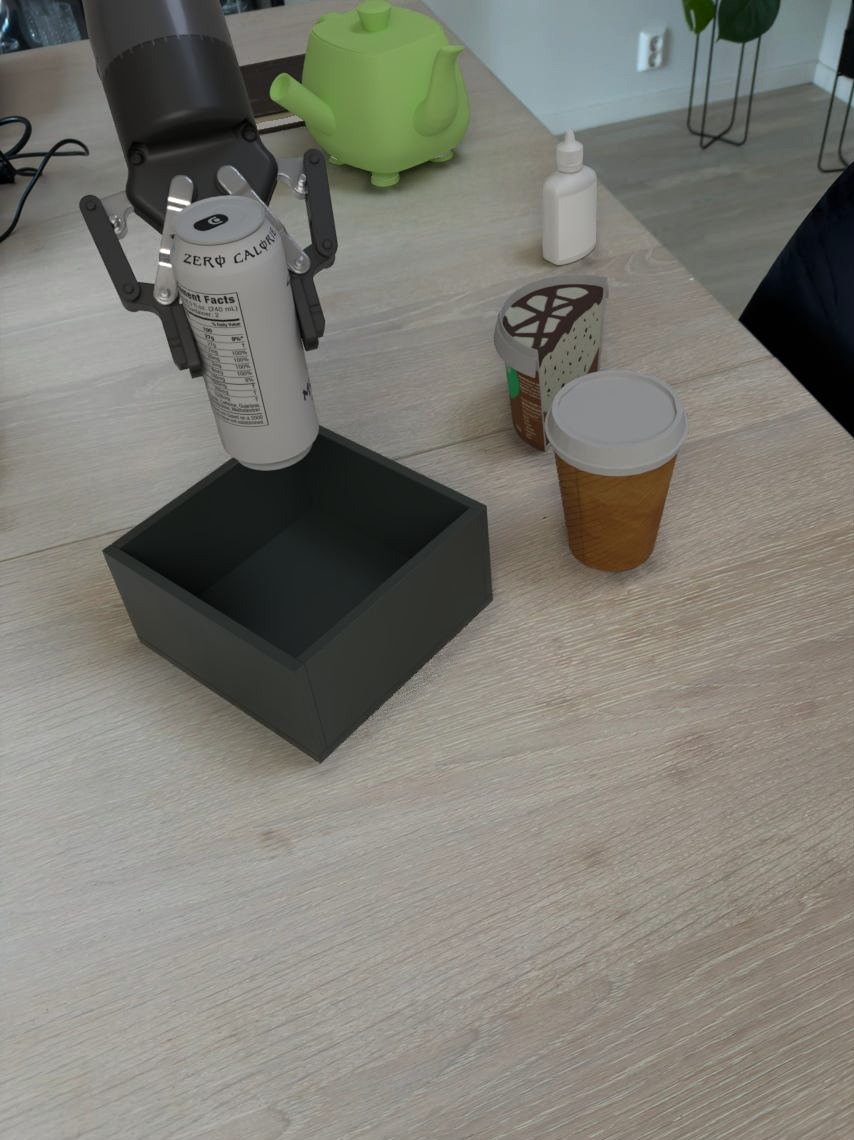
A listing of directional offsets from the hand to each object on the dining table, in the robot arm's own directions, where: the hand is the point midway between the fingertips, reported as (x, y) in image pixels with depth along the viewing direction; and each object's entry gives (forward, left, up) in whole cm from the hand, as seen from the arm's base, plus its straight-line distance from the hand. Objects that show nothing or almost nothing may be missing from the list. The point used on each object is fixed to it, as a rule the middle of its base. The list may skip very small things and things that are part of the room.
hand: (255, 359), depth 64 cm
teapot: (+41, +55, -21) cm, 71 cm away
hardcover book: (+38, +80, -21) cm, 91 cm away
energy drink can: (0, +2, -7) cm, 8 cm away
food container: (+27, +9, -21) cm, 35 cm away
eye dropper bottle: (+45, +27, -21) cm, 56 cm away
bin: (0, 0, -21) cm, 21 cm away
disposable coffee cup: (+21, -7, -21) cm, 31 cm away
